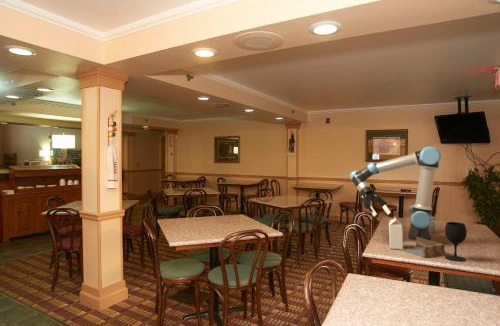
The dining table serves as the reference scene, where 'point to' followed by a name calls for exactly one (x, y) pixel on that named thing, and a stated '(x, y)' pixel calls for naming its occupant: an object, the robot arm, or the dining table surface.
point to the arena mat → (414, 250)
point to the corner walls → (430, 247)
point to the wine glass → (455, 238)
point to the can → (432, 225)
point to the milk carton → (395, 234)
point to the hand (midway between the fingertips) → (382, 214)
